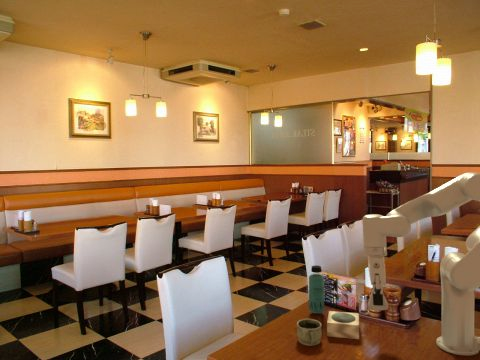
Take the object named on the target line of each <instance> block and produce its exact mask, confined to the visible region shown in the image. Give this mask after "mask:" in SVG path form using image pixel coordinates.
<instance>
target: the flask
mask: <svg viewBox="0 0 480 360" xmlns="http://www.w3.org/2000/svg"><path fill="white" fill-rule="evenodd" d="M379 284H380V283H379ZM374 285H376V283H374ZM375 288H376V286H375ZM373 293H374V292H373V286H372V288H371V293H370V296H369V299H368V303H367V305H366V307H367V308H369V310H371V311H372V310H374V311H385V310H386V311H387V310H388V309H389V307H390V306H389V304H388V301H387V299H386V296H385V294H384V291H383V290H382V294H383V306H379V305H373Z"/></svg>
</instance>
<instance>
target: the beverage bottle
mask: <svg viewBox="0 0 480 360" xmlns="http://www.w3.org/2000/svg"><path fill="white" fill-rule="evenodd" d="M310 270H311V272H312V273H311V274H309V276H308V311H309V312H311V313H313V314H322V313H324V312H325V308H326V307H325V305H326V304H325V277H324V275H323V274H322V267H321V266H320V265H315V264H314V265H311V269H310Z"/></svg>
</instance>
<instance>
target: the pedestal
mask: <svg viewBox="0 0 480 360" xmlns="http://www.w3.org/2000/svg"><path fill="white" fill-rule="evenodd" d="M326 329H327V330H326V331H327V332H326V333H327V337H333V338H344V339H345V338H346V339H353V340H360V313H358V312H347V311H346V312H345V311H334V310H333V311H332V310H328V315H327V321H326Z"/></svg>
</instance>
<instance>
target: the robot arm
mask: <svg viewBox="0 0 480 360" xmlns="http://www.w3.org/2000/svg"><path fill="white" fill-rule="evenodd" d="M472 200H474V201H477V202H480V172H476V171H475V172H474V171H473V172H472V171H469V172H465V173H462V174H461V175H458V176H457V177H455V178H453V179H451V180H449V181H448V182H446V183H444V184H441V186H439V187H437V188H434V189H433V190H431V191H429V192H428V193H425V194H423V195H420V196H418V197H416V198H414V199H412V200H409V201H407V202H406V203H403V204H402V205H400V206H399V207H395V208H394V209H393V210H391V211H390V212H388V213H387V214H386V215H385V216H384V215H382V214H377V213H375V214H374V213H372V214H365V215H364V216H363V217H362V221H361V222H362V237H363V238H362V239H363V240H362V241H363V256H365V257H367V265H368V274H369V280H370V284H371V285H372V287H373V292H374V293H373V305H379V306H383V294H384V293H383V294H382V291H383V288H382V287H383V286H384V287H385V286H387V281H386V264H385V263H386V262H385V257H387V256H388V251H387V250H388V249H387V237H393V238H403V237H406V236H408V234H410V232H411V231H412V230H411V229H412V225H413V224H414V223H416V222H419V221H421V220H424V219H427V218H433V217H439V216H443V215H444V216H445V215H446V214H448V213H451V212H452V211H454V210H455V209H457V208H459V207H461V206H464V204H467V203H469V202H471V201H472ZM465 247H466V250H467V252H466V254H464V253H462V252H458V251H452V252H449V253H447V254H445V255H444V256H443V257H442V258H441V260H440V263H439V275H440V283H441V284H440V285H441V336H439V337H437V338H436V341H435V342H436V346H437V347H439V348H440V349H441V350H443V351H444V352H447V353H449V354H450V353H451V354H452V355H458V356H470V357H471V356H475V355H477V354H480V353H479V352H480V336H476V335H475V290H477V289H479V288H480V225H478V227H476V229H475V230H474V231H473V232H471V233H470V234H469V236H467V237H466V240H465ZM374 283H376V285H374ZM379 283H380V284H379ZM375 286H376V288H375Z"/></svg>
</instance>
